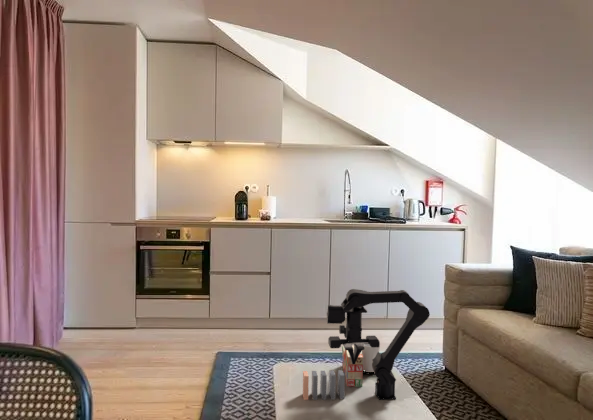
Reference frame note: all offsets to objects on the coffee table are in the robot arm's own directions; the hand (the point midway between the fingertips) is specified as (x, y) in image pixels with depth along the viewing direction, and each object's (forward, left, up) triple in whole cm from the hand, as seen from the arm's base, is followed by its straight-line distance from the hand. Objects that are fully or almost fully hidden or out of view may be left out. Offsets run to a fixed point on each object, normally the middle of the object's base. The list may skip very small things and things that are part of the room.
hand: (353, 364), depth 172 cm
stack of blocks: (-3, -18, -13) cm, 23 cm away
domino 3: (+11, 0, -12) cm, 17 cm away
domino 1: (+18, 0, -12) cm, 22 cm away
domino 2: (+15, 0, -12) cm, 19 cm away
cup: (-12, -23, -13) cm, 29 cm away
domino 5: (+5, 0, -12) cm, 13 cm away
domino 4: (+8, 0, -12) cm, 15 cm away
